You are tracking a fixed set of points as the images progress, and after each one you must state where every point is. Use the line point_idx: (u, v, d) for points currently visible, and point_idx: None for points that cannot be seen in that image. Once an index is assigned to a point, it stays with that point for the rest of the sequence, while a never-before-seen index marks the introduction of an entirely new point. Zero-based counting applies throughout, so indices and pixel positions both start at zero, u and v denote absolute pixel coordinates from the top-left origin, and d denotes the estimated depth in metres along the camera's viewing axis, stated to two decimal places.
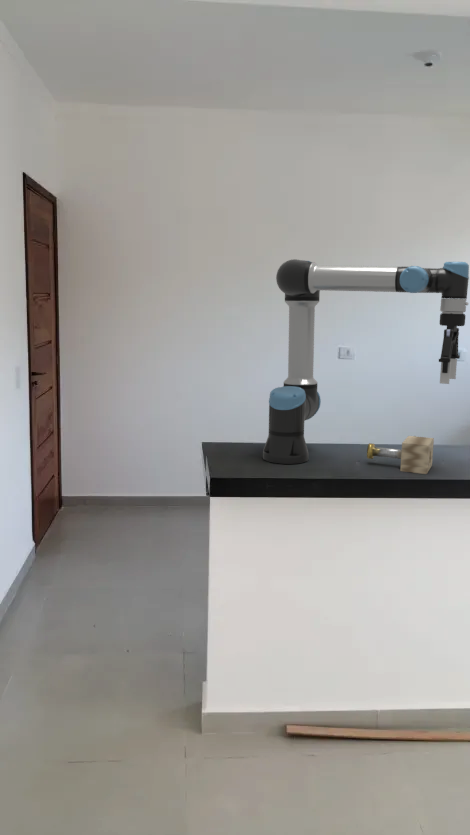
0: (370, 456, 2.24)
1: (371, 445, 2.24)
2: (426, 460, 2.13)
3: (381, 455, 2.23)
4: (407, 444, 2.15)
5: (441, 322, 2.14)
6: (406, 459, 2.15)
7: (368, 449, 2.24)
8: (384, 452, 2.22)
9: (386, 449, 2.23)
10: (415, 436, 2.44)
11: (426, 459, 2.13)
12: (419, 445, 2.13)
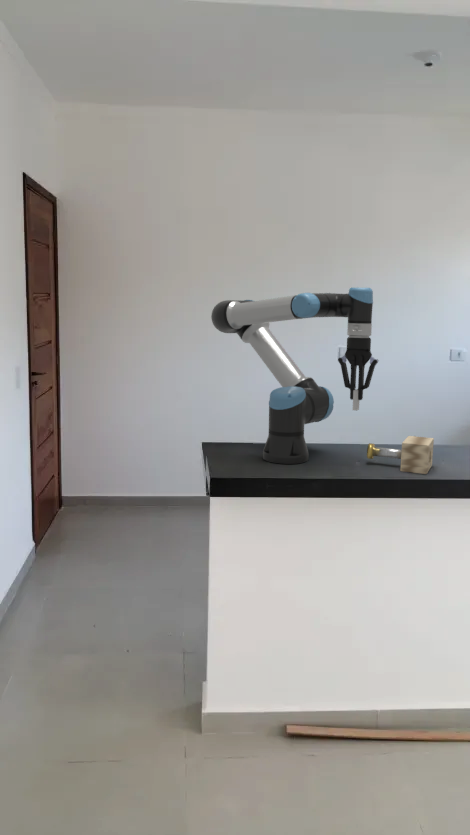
0: (370, 456, 2.24)
1: (371, 445, 2.24)
2: (426, 460, 2.13)
3: (381, 455, 2.23)
4: (407, 444, 2.15)
5: None
6: (406, 459, 2.15)
7: (368, 449, 2.24)
8: (384, 452, 2.22)
9: (386, 449, 2.23)
10: (415, 436, 2.45)
11: (426, 459, 2.13)
12: (419, 445, 2.13)
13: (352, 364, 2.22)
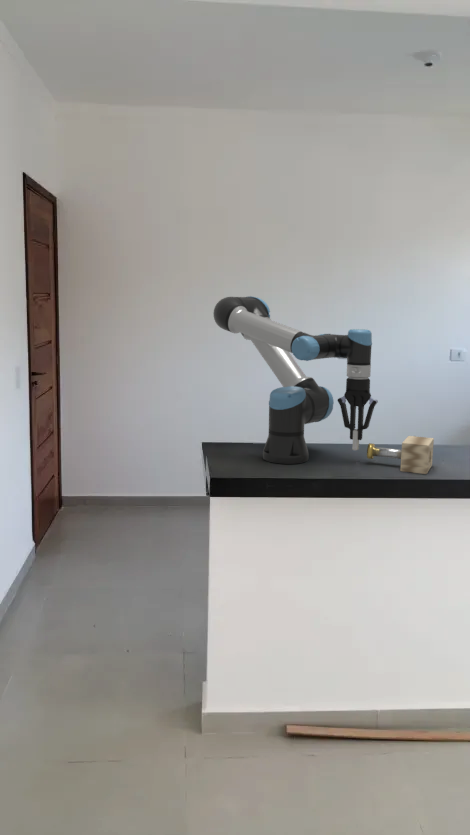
0: (370, 456, 2.24)
1: (371, 445, 2.24)
2: (426, 460, 2.13)
3: (381, 455, 2.23)
4: (407, 444, 2.15)
5: None
6: (406, 459, 2.15)
7: (368, 449, 2.24)
8: (384, 452, 2.22)
9: (386, 449, 2.23)
10: (415, 436, 2.44)
11: (426, 459, 2.13)
12: (419, 445, 2.13)
13: (351, 405, 2.24)
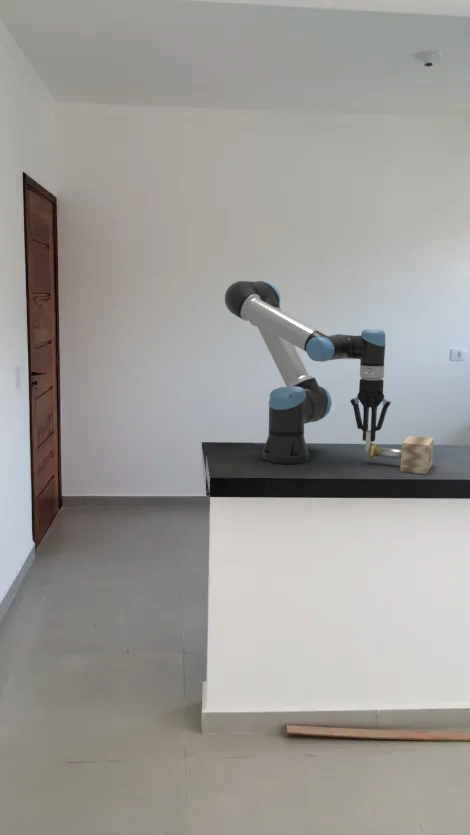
0: (372, 456, 2.24)
1: (373, 445, 2.24)
2: (426, 460, 2.13)
3: (383, 455, 2.23)
4: (407, 444, 2.15)
5: None
6: (406, 459, 2.15)
7: (370, 449, 2.23)
8: (386, 452, 2.22)
9: (388, 449, 2.23)
10: (415, 436, 2.44)
11: (426, 459, 2.13)
12: (419, 445, 2.13)
13: (365, 406, 2.22)
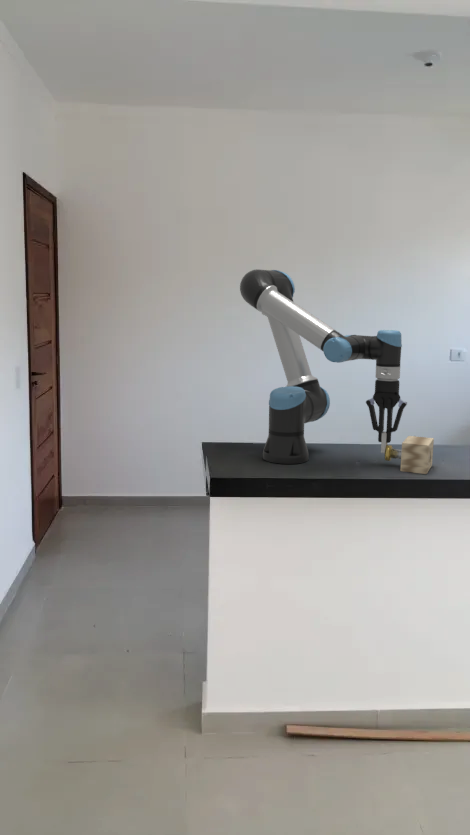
0: (388, 458, 2.22)
1: (389, 447, 2.22)
2: (426, 460, 2.13)
3: (399, 457, 2.21)
4: (407, 444, 2.15)
5: None
6: (406, 459, 2.15)
7: (386, 451, 2.21)
8: None
9: None
10: (415, 436, 2.44)
11: (426, 459, 2.13)
12: (419, 445, 2.13)
13: (380, 407, 2.20)
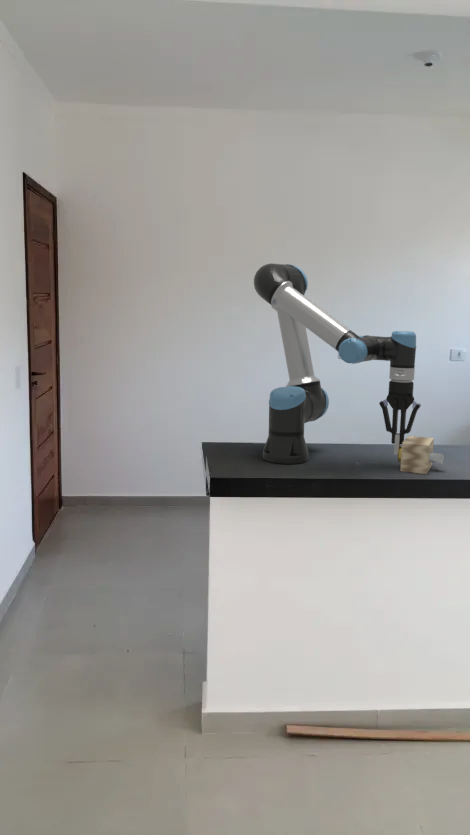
0: None
1: None
2: (426, 460, 2.13)
3: None
4: (407, 444, 2.15)
5: None
6: (406, 459, 2.15)
7: (399, 452, 2.20)
8: None
9: None
10: (415, 436, 2.44)
11: (426, 459, 2.13)
12: (419, 445, 2.13)
13: (394, 408, 2.19)
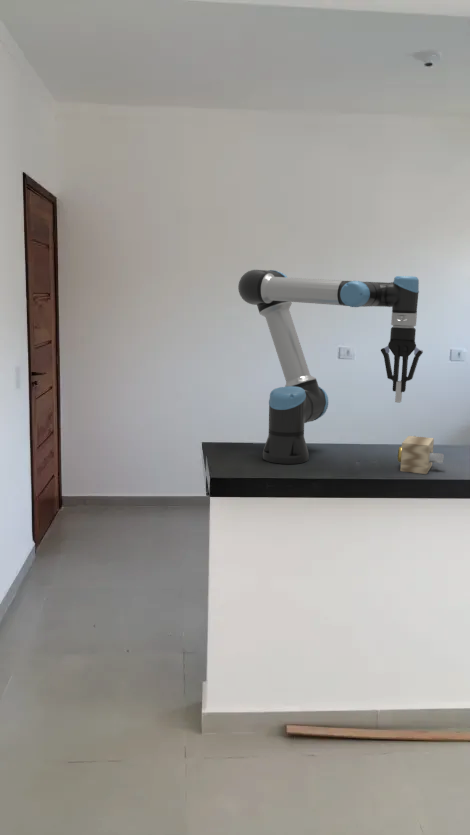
0: None
1: None
2: (426, 460, 2.13)
3: None
4: (407, 444, 2.15)
5: None
6: (406, 459, 2.15)
7: (399, 452, 2.20)
8: None
9: None
10: (415, 436, 2.45)
11: (426, 459, 2.13)
12: (419, 445, 2.13)
13: (396, 355, 2.16)
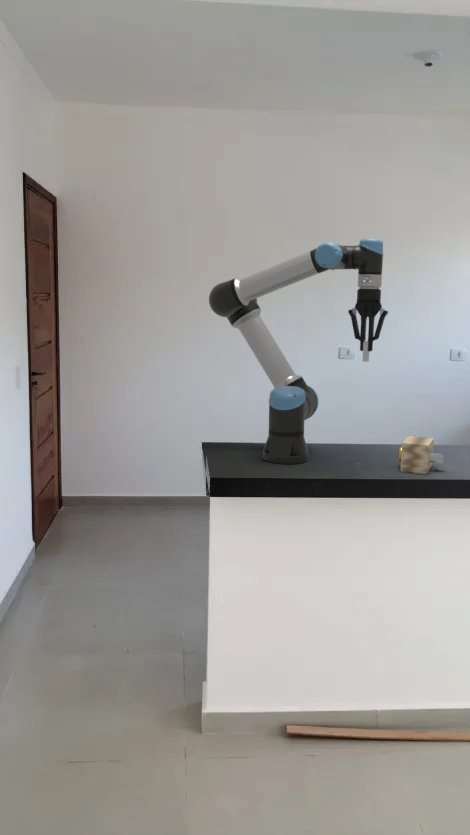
0: None
1: None
2: (426, 460, 2.13)
3: None
4: (407, 444, 2.15)
5: None
6: (406, 459, 2.15)
7: (399, 452, 2.20)
8: None
9: None
10: (415, 436, 2.44)
11: (426, 459, 2.13)
12: (419, 445, 2.13)
13: (362, 315, 2.25)
